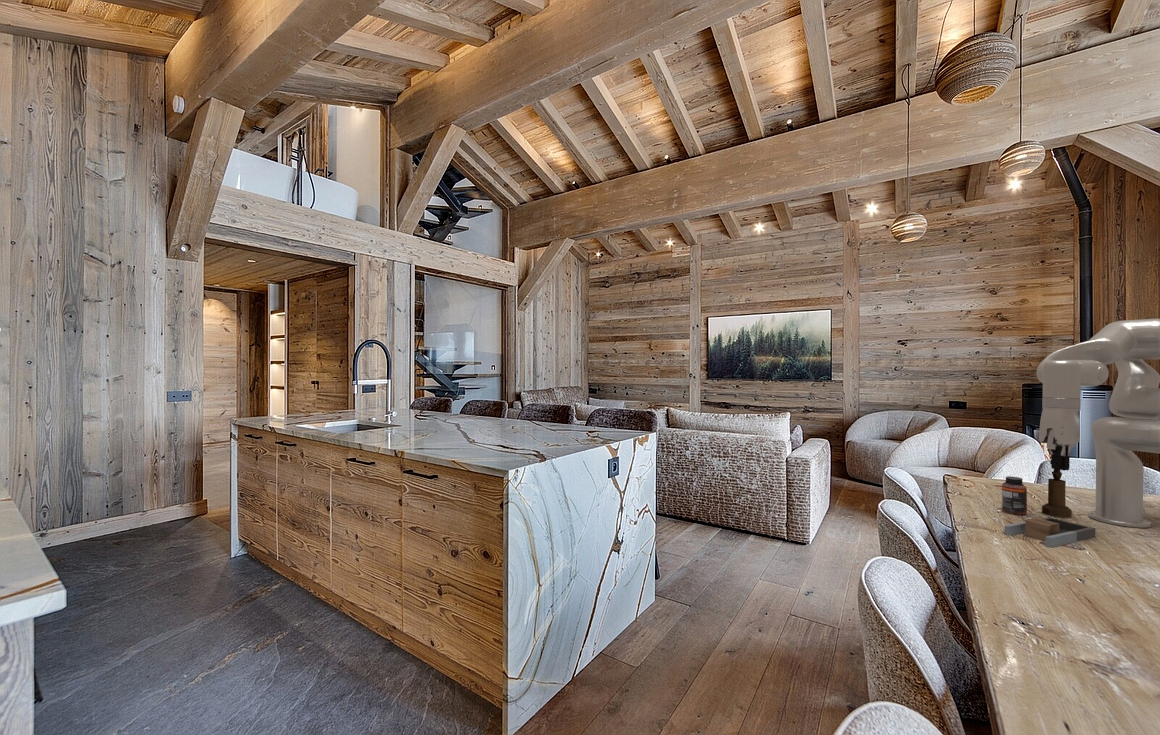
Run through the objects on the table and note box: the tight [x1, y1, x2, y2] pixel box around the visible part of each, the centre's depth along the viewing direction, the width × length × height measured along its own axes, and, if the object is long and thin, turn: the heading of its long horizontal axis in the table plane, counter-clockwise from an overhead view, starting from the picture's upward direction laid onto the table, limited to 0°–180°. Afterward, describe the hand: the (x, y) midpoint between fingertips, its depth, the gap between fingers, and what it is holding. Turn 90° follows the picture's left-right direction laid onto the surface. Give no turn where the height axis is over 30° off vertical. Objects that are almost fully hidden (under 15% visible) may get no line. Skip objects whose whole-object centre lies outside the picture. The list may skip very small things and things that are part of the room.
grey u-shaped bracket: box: [1004, 516, 1097, 549], centre depth 130 cm, size 21×10×2 cm, turn 110°
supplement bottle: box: [1001, 475, 1028, 516], centre depth 150 cm, size 6×6×11 cm
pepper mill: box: [1041, 460, 1073, 519], centre depth 148 cm, size 7×6×18 cm
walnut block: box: [1024, 517, 1059, 542], centre depth 129 cm, size 5×5×4 cm
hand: (1060, 469), depth 131 cm, fingers closed
